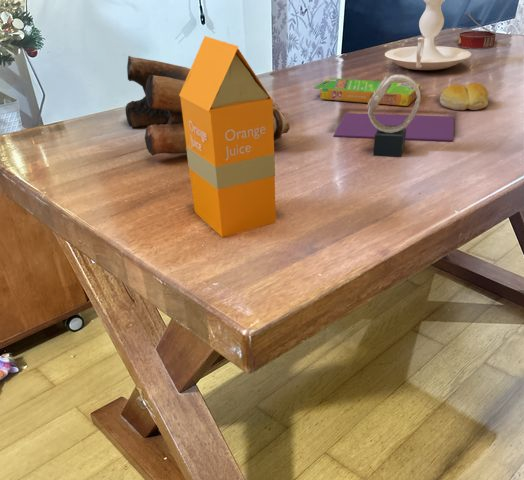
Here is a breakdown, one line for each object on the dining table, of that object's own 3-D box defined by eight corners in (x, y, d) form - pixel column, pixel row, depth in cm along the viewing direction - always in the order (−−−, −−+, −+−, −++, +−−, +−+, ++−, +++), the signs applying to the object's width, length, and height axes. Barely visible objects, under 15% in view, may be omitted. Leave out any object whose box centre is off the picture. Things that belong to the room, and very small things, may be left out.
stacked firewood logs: (147, 67, 76) (309, 71, 84) (116, 54, 100) (244, 58, 108) (153, 162, 82) (302, 157, 90) (122, 128, 107) (242, 126, 115)
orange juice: (245, 199, 74) (235, 32, 62) (277, 222, 68) (272, 41, 56) (192, 212, 71) (171, 40, 59) (220, 237, 65) (203, 51, 53)
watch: (366, 143, 91) (371, 71, 84) (415, 146, 89) (425, 72, 82) (360, 154, 86) (366, 79, 80) (412, 157, 84) (422, 80, 78)
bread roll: (437, 100, 110) (440, 79, 108) (483, 100, 109) (488, 78, 106) (440, 111, 104) (444, 88, 101) (489, 111, 102) (494, 88, 100)
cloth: (453, 118, 100) (453, 116, 100) (453, 141, 90) (453, 139, 89) (345, 114, 105) (345, 113, 105) (333, 136, 94) (333, 134, 94)
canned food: (465, 60, 162) (477, 24, 159) (495, 60, 155) (509, 22, 152) (445, 44, 154) (458, 6, 152) (476, 44, 147) (490, 4, 145)
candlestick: (370, 78, 128) (381, -71, 111) (393, 58, 146) (406, -74, 128) (460, 83, 121) (487, -76, 104) (473, 61, 139) (498, -78, 121)
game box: (406, 110, 108) (311, 98, 115) (418, 99, 114) (327, 88, 121) (409, 94, 106) (312, 82, 113) (421, 83, 113) (329, 73, 119)
